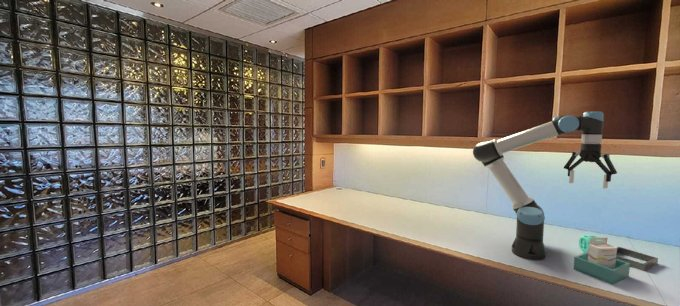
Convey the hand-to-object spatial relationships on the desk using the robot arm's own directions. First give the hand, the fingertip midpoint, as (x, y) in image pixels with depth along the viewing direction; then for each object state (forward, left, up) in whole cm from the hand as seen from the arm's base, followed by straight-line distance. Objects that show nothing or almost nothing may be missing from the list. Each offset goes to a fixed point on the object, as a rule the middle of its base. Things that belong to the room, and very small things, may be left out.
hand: (587, 185), depth 138 cm
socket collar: (+14, +13, -36) cm, 41 cm away
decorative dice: (+1, +7, -37) cm, 37 cm away
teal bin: (+13, -13, -36) cm, 41 cm away
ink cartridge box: (+13, -13, -36) cm, 40 cm away
